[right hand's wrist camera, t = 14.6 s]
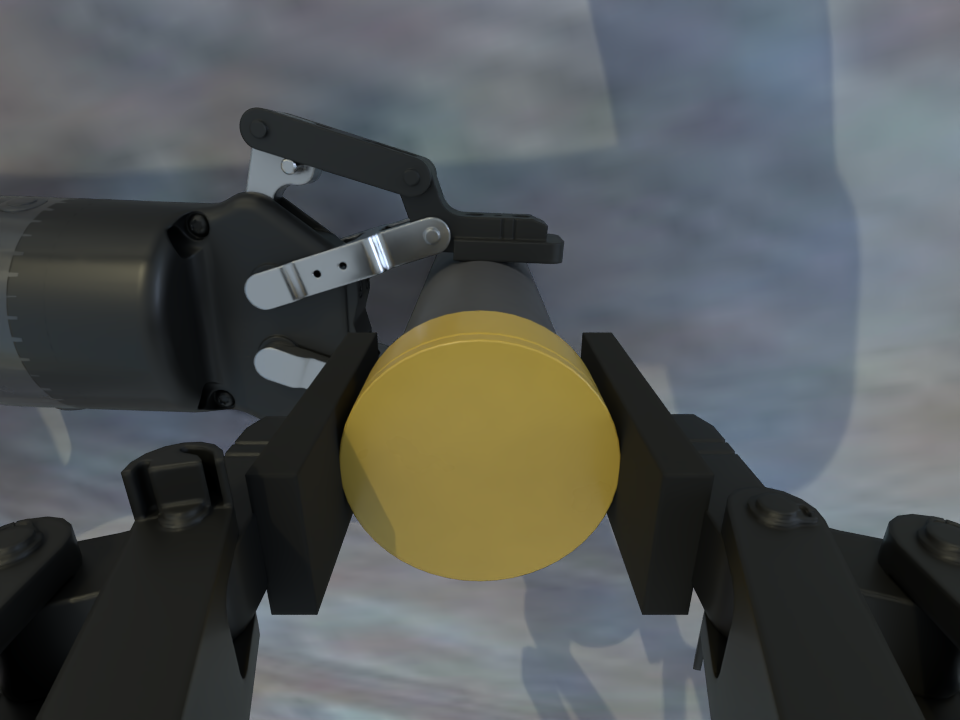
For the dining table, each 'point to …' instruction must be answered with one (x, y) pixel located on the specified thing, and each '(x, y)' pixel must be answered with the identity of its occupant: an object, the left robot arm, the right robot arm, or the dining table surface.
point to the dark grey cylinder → (478, 291)
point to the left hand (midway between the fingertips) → (551, 322)
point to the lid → (479, 448)
